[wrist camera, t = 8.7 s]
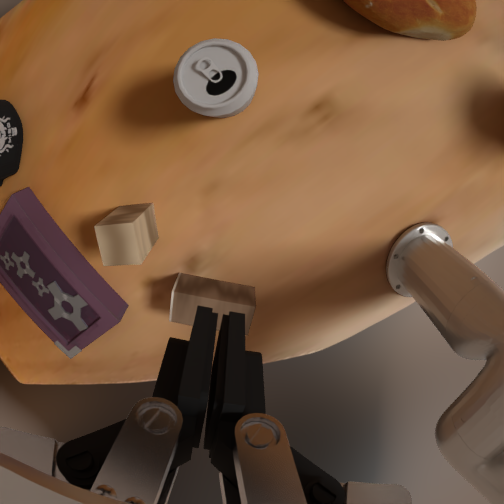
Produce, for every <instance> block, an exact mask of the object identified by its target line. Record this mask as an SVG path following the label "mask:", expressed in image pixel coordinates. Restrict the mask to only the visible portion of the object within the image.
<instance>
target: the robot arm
mask: <svg viewBox="0 0 504 504" xmlns="http://www.w3.org/2000/svg"><path fill="white" fill-rule="evenodd" d="M386 273H387V278H388V281H389V283H390V285H391V286H392V288H393V289H394V290H395V291H396V292H397V293H398V294H400V295H402V296H405V297H413V298H414V299H415V301H416V302H417V303H418V304H419V305H420V307H421V308H422V309H423V311H424V312H425V313H426V315H427V316H428V317H429V319H430V320H431V321H432V323H433V324H434V325H435V327H436V328H437V329H438V331H439V332H440V333H441V335H442V336H443V337H444V338H445V340H446V341H447V343H448V344H449V345H450V347H451V348H452V349H453V351H454V352H455V353H457V354H458V355H459V356H461V357H463V358H466V359H471V360H487V361H486V364H485V366H484V367H483V369H482V370H481V371H480V372H479V374H478V375H477V377H476V378H475V379H474V380H473V381H472V382H471V384H470V385H469V386H468V387H467V388H466V389H465V390H464V391H463V392H462V393H461V394H460V396H459V397H458V398H457V399H456V400H455V401H454V402H453V403H452V404H451V405H450V406H449V407H448V408H447V409H446V410H445V411H444V413H443V414H442V415H441V417H440V418H439V420H438V422H437V424H436V428H435V438H436V443H437V446H438V448H439V450H440V452H441V453H442V455H443V456H444V458H445V459H446V460H447V461H448V462H449V464H450V465H451V466H452V467H453V468H454V469H455V470H456V471H457V472H458V473H459V474H460V475H461V476H462V477H464V478H465V479H466V480H467V481H468V482H469V483H470V484H471V485H472V486H473V487H474V488H475V489H476V490H477V491H478V492H479V493H480V494H482V495H483V496H484V497H485V498H486V499H487V500H488V501H489V502H490V503H491V504H504V290H503V289H502V288H501V287H500V286H499V285H497V284H496V283H495V282H494V281H493V280H492V279H491V278H489V277H488V276H487V275H486V274H485V273H483V272H482V271H481V270H480V269H479V268H478V267H476V266H475V265H474V264H473V263H471V262H470V261H469V260H468V259H467V258H465V257H464V256H463V255H462V254H460V253H459V252H458V251H456V250H455V249H454V248H453V244H452V240H451V237H450V235H449V234H448V232H447V231H446V230H445V229H443V228H442V227H441V226H439V225H437V224H434V223H428V222H425V223H420V224H417V225H414V226H412V227H411V228H409V229H407V230H406V231H405V232H404V233H403V234H402V235H401V236H400V237H399V238H398V239H397V240H396V242H395V243H394V245H393V247H392V248H391V251H390V253H389V256H388V259H387V265H386ZM212 311H213V308H209V307H204V306H199V305H198V306H197V311H196V315H195V319H194V324H193V328H192V332H191V337H190V341H186V340H181V339H176V338H171V337H170V338H169V341H168V344H167V348H166V351H165V354H164V358H163V361H162V364H161V368H160V371H159V375H158V378H157V382H156V386H155V389H154V393H153V396H152V397H149V398H145V399H142V400H140V401H139V402H137V403H136V404H135V405H134V406H133V408H132V409H131V411H130V413H129V415H128V417H127V419H125V420H123V421H120V422H118V423H115V424H113V425H111V426H108V427H106V428H103V429H100V430H98V431H95V432H93V433H90V434H87V435H85V436H82V437H80V438H77V439H74V440H71V441H69V442H67V443H61V442H56V440H55V439H51V438H47V437H42V436H38V435H33V434H29V433H25V432H21V431H17V430H14V429H10V428H6V427H0V504H167V502H168V498H169V496H170V492H171V490H172V487H173V484H174V481H175V478H176V475H177V471H178V469H179V466H180V465H182V464H184V463H186V462H187V461H189V460H191V453H192V447H195V448H199V443H200V438H201V432H202V428H203V423H204V418H205V413H206V407H207V402H208V409H207V418H206V428H205V438H204V449H208V450H210V451H209V458H211V463H212V464H213V465H214V466H215V467H216V468H217V469H218V470H219V478H220V485H221V492H222V498H223V504H412V501H411V495H410V493H409V491H408V490H407V489H406V488H405V487H403V486H402V485H397V484H375V483H361V482H350V481H348V482H347V483H339V482H338V481H337V480H336V479H334V478H333V477H332V476H330V475H329V474H327V473H326V472H325V471H323V470H322V469H320V468H319V467H317V466H316V465H315V464H313V463H312V462H311V461H309V460H308V459H307V458H305V457H304V456H302V455H301V454H300V453H299V452H297V451H296V450H295V449H293V448H292V447H291V446H290V445H289V442H288V439H287V435H286V432H285V430H284V428H283V426H282V424H281V423H280V422H279V421H278V420H277V419H275V418H273V417H272V416H269V415H266V414H265V397H264V381H263V366H262V354H261V353H259V352H251V351H245V314H244V313H238V312H232V311H230V312H229V315H225V314H223V316H222V321H221V326H220V331H219V336H218V341H217V346H216V351H215V356H214V361H213V352H214V344H215V336H216V328H217V320H218V313H214V312H212ZM212 361H213V366H212ZM211 370H212V372H211ZM210 378H211V380H210ZM209 387H210V390H209ZM208 396H209V399H208Z"/></svg>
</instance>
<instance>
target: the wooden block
mask: <svg viewBox="0 0 504 504" xmlns="http://www.w3.org/2000/svg"><path fill="white" fill-rule="evenodd" d="M198 305H199V306H204V307H209V308H213V311H212V312H214V313H218V320H217V328H216V330H218V331H220V326H221V321H222V316H223V314H225V315H229V312H230V311H232V312H238V313H244V314H245V335H248V333H249V329H250V326H251V322H252V318H253V315H254V311H255V308H256V302H255V287H252V286H246V285H241V284H235V283H230V282H224V281H219V280H214V279H209V278H204V277H198V276H193V275H188V274H183V273H179V274H178V277H177V279H176V282H175V284H174V287H173V289H172V295H171V306H170V317H169V321H171V322H176V323H181V324H186V325H191V326H193V324H194V319H195V315H196V311H197V306H198Z"/></svg>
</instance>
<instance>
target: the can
mask: <svg viewBox="0 0 504 504" xmlns="http://www.w3.org/2000/svg"><path fill="white" fill-rule="evenodd" d="M257 81H258V70H257V65H256V62H255V60H254V58H253V57H252V55H251V54H250V52H249V51H248V50H247V49H245V48H244V47H243V46H242V45H240V44H238V43H236V42H233V41H230V40H228V39H210V40H205V41H201V42H199V43H197V44H196V45H194V46H192V47H190V48H189V49H188V50H187V51H186V52H185V53H184V54H183V55H182V56H181V57H180V59H179V61H178V63H177V65H176V67H175V71H174V78H173V82H174V87H175V92H176V94H177V95H178V97H179V99H180V100H181V102H182V103H183V104H184V105H185V106H187V107H188V108H189V109H190V110H191V111H194V112H197V113H199V114H202V115H205V116H211V117H219V118H226V117H231V116H235V115H237V114H238V113H240V112H242V111H243V110H244V109H245V108H246V107H247V106H248V105H249V104H250V102H251V100H252V98H253V96H254V94H255V90H256V87H257Z"/></svg>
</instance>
